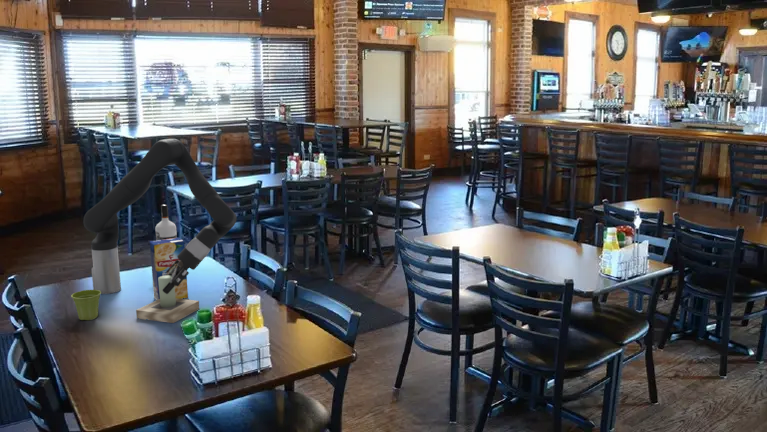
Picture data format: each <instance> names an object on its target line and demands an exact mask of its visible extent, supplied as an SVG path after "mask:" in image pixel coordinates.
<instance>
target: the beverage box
mask: <svg viewBox="0 0 767 432" xmlns="http://www.w3.org/2000/svg"><path fill="white" fill-rule="evenodd" d="M185 247H186V246H185V240H183V239H182V238H180V237H177V238H171V239H163V240H157V239H156V240H149V249H150V262H151V265H150V266H151V275H152V277H151V278H152V289H153V298H154V300H155V301H156V300H158V299H160V294H159V282H158V278H159V277H161V276H165V275H166V271H167V270H168V269H169V268H170V267H171V266H172V265H173V263H174V262H175V261H176V260H178V261H180V260H179V259H178V257H177V256H178V255H179V254H180V252H181V251H182V250H183V249H184V248H185ZM187 276H188V275H187ZM187 276H186V277H185V278H184V280H183V281H182V282H181V283H180V284H179V286H175V298H178V299H183V298H184V299H187V298H189V292H188V290H189V289H188V277H187Z"/></svg>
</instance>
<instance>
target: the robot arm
mask: <svg viewBox="0 0 767 432" xmlns="http://www.w3.org/2000/svg"><path fill="white" fill-rule="evenodd" d="M172 165H175V166H176V167H177V168H178V169H179V170H180V171H181V172H182V173H183V174H184V177H185V178H186V182H187V184H188V187H189V189H190V192H191V194H192V195H193V196H194V198H195V199H196V201H198V203H199V204H200V205H201V206H202V207H203V208H204V209H205V210H206V211H207V213H208V215H209V216H210V217H211V218H212V221H211V222H210V223H209V224H208V225H206V226H204V227H203V228H202V229H200V231H199V232H198V233H197V234H196V235H195V236H194V237H193V239H191V240H190V241H189V242H188V243H187V245H186V246H185V248H184V249H183V250H182V251H181V252H180V254H179V255H178V256H177V257H178V259H179V260H180V261H178V260H176V261H175V262H174V263H173V265H172V266H171V267H170V268H169V269H168V270H167V271H166V275H171V276H172V279H171V280H170V282H169V283H168V284H167V285H166V286H165V287H164V289H163V292H164V293H166V294H168V293H169V292H170V291H171V290H172V289H173V287H174V286H179V284H180V283H181V282H182V281H183V280H184V278H185V277H186V276H188V275H189V274H190V272H189V271H188V270H189V269H191V270H193V271H194V270H195V269H196V268H197V267H198V266H199V265H200V264H201V262H202V261H203V260H205V258H206V257H207V256H208V255H209V253H210V251H211V250H212V249H213V248H214V247H215V245H216V244H217V243H218V242H219V241H220V240H221V238H223V237H224V236H225V235H226V234H227V233H229V232H230V231H231V230H232V228H234V226H235V225H236V223H237V221H238V219H237V218H238V217H237V214H236V213H235V212H234V211H233V209H232V208H231V207H230V206H229V205H228V204H227V203H226V202H225V201H224V200H223V199H222V198H221V196H220V194H219V193H218V191H216V189H215V188H214V187H213V186H212V185H211V184H210V182H209V181H208V180H207V178H206V177H205V176H204V174H203V173H202V172H201V170H200V169H199V167H198V165H197V164H196V162H195V160H194V159H193V157H192V156H191V154H190V152H189V150H188V149H187V147H186V145H184V143H183V142H182V141H181V140H179V139H176V138H165V139H160V140H158V141H156V142H155V143H154V144H153V145H152V146H151V147H150V149H148V151H147V152H146V154H145V155H144V156H143V158H142V159H141V160H140V161H139V162H138V163H137V164H135V166H134V167H132V169H131V170H130V171H128V173H127V174H125V175H124V176H123V177H122V178H121V179H120V180H119V181H118V183H117V184H116V185H115V186H113V188H111V190H110V191H109V192H108V193H107V194H106V195H105V197H103V198H102V199H101V200H100V201H99V202H97V203H96V204H95V205H94V206H93V207H91V208H89V209H88V210H87V212H86V213H85V214H84V216H83V226H84V228H85V229H86V230H87V231H88V232H90V233H97V235H96V236H95V238H93V240H92V241H91V242H90V243H91V244H90V246H91V249H90V250H91V257H92V266H93V267H91V278H92V279H91V280H92V288H93V289H92V290H99V291H101V294H102V295H108V294H113V293H114V294H115V293H117V292H120V291H121V290H122V286H121V283H122V282H121V273H120V262H119V261H120V260H119V251H118V250H119V249H118V241H119V218H118V213H119V212H120V211H123V210H124V209H126V208H128V207H129V206H131V205H133V204H134V203H136V202H137V201H138V200H140V198H141V197H143V196H144V194H146V192H147V191H148V190H149V189H150V186H151V184H152V180H153V178H154V176H155V175H156V174H158V173H159V172H160V171H161V170H163V169H164V168H165V167H167V166H172ZM101 294H100V295H101Z"/></svg>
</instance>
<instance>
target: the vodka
mask: <svg viewBox="0 0 767 432" xmlns="http://www.w3.org/2000/svg"><path fill="white" fill-rule="evenodd" d="M160 209H161V221H159V222H158V223H156V226H155V229H154V230H155V237H156V240H163V239H171V238H178V237H177V233H178V232H177V226H176V224H175V222H173V221H171V220H170V219H169V210H168V209H169V207H168V205H167V204H161V205H160Z"/></svg>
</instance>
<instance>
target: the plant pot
mask: <svg viewBox="0 0 767 432" xmlns="http://www.w3.org/2000/svg"><path fill="white" fill-rule="evenodd" d="M71 298H72V300H73V302H74V305H75V309H76V311H77V312H76V313H77V316H78V319H79V320H81V321H92V320H95V319H96V318H97V317H99V304H100V298H101V291H99V290H93V289H85V290H80V291H76V292H74V293H72V294H71Z"/></svg>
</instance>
